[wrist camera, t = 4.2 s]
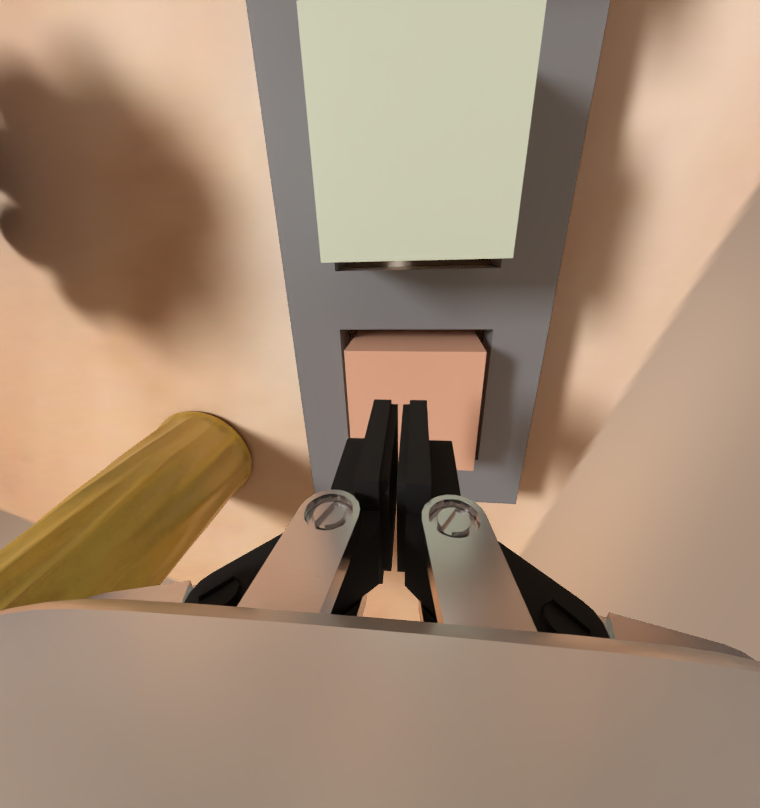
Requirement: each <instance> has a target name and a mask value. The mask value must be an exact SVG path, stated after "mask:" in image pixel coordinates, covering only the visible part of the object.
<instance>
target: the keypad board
mask: <svg viewBox="0 0 760 808" xmlns="http://www.w3.org/2000/svg"><path fill="white" fill-rule="evenodd" d="M296 1H298V0H246V5H247V12H248V19H249V27H250V34H251V41H252V48H253V55H254V62H255V70H256V77H257V84H258V91H259V98H260V105H261V113H262V120H263V127H264V134H265V141H266V149H267V156H268V163H269V170H270V177H271V184H272V192H273V199H274V206H275V213H276V220H277V227H278V235H279V242H280V249H281V256H282V263H283V271H284V278H285V285H286V292H287V299H288V306H289V314H290V321H291V328H292V335H293V342H294V349H295V357H296V364H297V371H298V378H299V385H300V392H301V400H302V407H303V414H304V421H305V428H306V436H307V443H308V450H309V457H310V464H311V471H312V479H313V486H314V493H318V492H321V491H325V490H330V489H331V486H332V483H333V480H334V477H335V474H336V471H337V468H338V465H339V462H340V459H341V456H342V453H343V450H344V447H345V444H346V441H347V439H348V438H350V424H349V411H348V397H347V384H346V371H345V357H344V350H345V349H346V348H347V346H348V345H349V343H350V335H349V330H367V329H484V338H483V347H484V348H485V350H486V352H487V354H486V363H485V371H484V380H483V389H482V398H481V407H480V416H479V425H478V434H477V443H476V452H475V461H474V469H473V471H465V470H457V475H458V481H459V487H460V493H461V496H462V497H465V498H467V499H469V500H471V501H473V502H488V503H506V504H516V500H517V494H518V489H519V484H520V478H521V473H522V468H523V462H524V457H525V452H526V446H527V441H528V436H529V430H530V425H531V420H532V415H533V409H534V404H535V399H536V393H537V388H538V383H539V377H540V372H541V367H542V361H543V356H544V351H545V345H546V340H547V335H548V329H549V324H550V319H551V313H552V308H553V303H554V297H555V292H556V287H557V281H558V276H559V271H560V265H561V260H562V255H563V249H564V244H565V239H566V233H567V228H568V223H569V217H570V212H571V207H572V201H573V196H574V191H575V186H576V180H577V175H578V170H579V164H580V159H581V154H582V148H583V143H584V138H585V132H586V127H587V122H588V116H589V111H590V106H591V100H592V95H593V90H594V84H595V79H596V74H597V68H598V63H599V58H600V52H601V47H602V42H603V36H604V31H605V26H606V20H607V15H608V10H609V4H610V0H547V2H546V10H545V17H544V25H543V32H542V40H541V48H540V55H539V63H538V71H537V78H536V86H535V94H534V101H533V109H532V117H531V124H530V132H529V140H528V147H527V155H526V163H525V170H524V178H523V186H522V193H521V201H520V208H519V216H518V224H517V231H516V239H515V247H514V254H513V258H499V259H492V263H491V265H464V266H419V267H373V268H345V262H332V263H321V258H320V247H319V237H318V226H317V216H316V205H315V194H314V184H313V173H312V162H311V152H310V141H309V131H308V120H307V109H306V99H305V88H304V77H303V67H302V56H301V46H300V35H299V24H298V14H297V3H296Z"/></svg>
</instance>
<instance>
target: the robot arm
mask: <svg viewBox="0 0 760 808" xmlns="http://www.w3.org/2000/svg"><path fill="white" fill-rule="evenodd" d="M396 503H397V568H398V572H405V586H406V587H407V588H408V589H409V590H410V591H411V592H412V593H413V594H414V595H415V597H416V598H417V599H418V600H419V614H420V621H421V622H419V621H407V620H395V619H383V618H371V617H362V616H363V612H364V609H365V605H366V599H367V593H368V592H369V591H371V590H372V589H373V588H374V587H376V586H377V585H378V584H383V574H384V571H391V568H392V556H393V542H394V529H395V516H396ZM0 808H760V661H756V660H754V659H753V658H751V657H750V656H748V655H747V654H745V653H743V652H742V651H739V650H737V649H734V648H732V647H729V646H727V645H725V644H721V643H718V642H714V641H710V640H707V639H703V638H700V637H696V636H692V635H689V634H685V633H682V632H678V631H675V630H671V629H667V628H664V627H660V626H657V625H653V624H649V623H646V622H642V621H639V620H635V619H631V618H627V617H624V616H621V615H617V614H613V613H610V612H609V613H608V616H607V617H603V616H599V615H597V614H596V613H595V612H594V611H593V610H592V609H591V608H590V607H589V606H588V605H586V604H585V603H584V602H583V601H582V600H580V599H579V598H577V597H576V596H575V595H573V594H572V593H571V592H569V591H568V590H566V589H565V588H563V587H562V586H560V585H559V584H558V583H556V582H555V581H553V580H552V579H551V578H549V577H548V576H546V575H545V574H544V573H542V572H541V571H539V570H538V569H536V568H535V567H534V566H532V565H531V564H530V563H528V562H527V561H525V560H524V559H523V558H521V557H520V556H518V555H517V554H515V553H514V552H513V551H511V550H510V549H508V548H507V547H506V546H504V545H503V544H501V543H500V542H498V541H497V539H496V536H495V534H494V532H493V530H492V527H491V525H490V523H489V520H488V518H487V516H486V514H485V513H484V511H483V510H482V508H481V507H480V506H478V505H477V504H476V503H475V502H473V501H471V500H469V499H467V498H465V497H462V496H461V493H460V487H459V481H458V475H457V468H456V462H455V456H454V450H453V444H452V441H442V440H429V429H428V411H427V400H410V404H403V411H402V424H401V436H400V448H399V460H398V404H392V401H391V400H382V399H374V402H373V406H372V410H371V414H370V418H369V422H368V426H367V430H366V434H365V438H348V439H347V441H346V444H345V447H344V450H343V453H342V456H341V459H340V462H339V465H338V468H337V471H336V474H335V477H334V480H333V483H332V486H331V489H330V490H325V491H321V492H318V493H316V494H313V495H312V496H310V497H309V498H307V499H306V500H305V501H304V502H303V503H302V504H301V506H300V507H299V509H298V510H297V512H296V513H295V515H294V517H293V518H292V520H291V521H290V523H289V524H288V526H287V528H286V529H285V531H284V532H283V533H282V534H280V535H279V536H277V537H275V538H273V539H272V540H270V541H268V542H266V543H265V544H263V545H261V546H259V547H257V548H256V549H254V550H252V551H250V552H249V553H247V554H245V555H243V556H241V557H240V558H238V559H236V560H234V561H233V562H231V563H229V564H227V565H225V566H224V567H222V568H220V569H218V570H217V571H215V572H213V573H211V574H210V575H208V576H207V577H205V578H204V579H203V580H201V581H200V582H199V583H198V584H197V585H193V586H192V584H191V581H184V582H177V583H170V584H163V585H156V586H149V587H143V588H136V589H129V590H122V591H115V592H108V593H102V594H99V595H95V596H92V597H89V598H87V599H75V600H62V601H49V602H43V603H37V604H31V605H25V606H19V607H14V608H9V609H5V610H2V611H0Z"/></svg>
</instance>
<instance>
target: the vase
mask: <svg viewBox="0 0 760 808" xmlns="http://www.w3.org/2000/svg"><path fill="white" fill-rule="evenodd" d="M251 468H252V460H251V455H250V452H249V449H248V447H247V445H246V443H245V442H244V440H243V439H242V437H241V436H240V435H239V434H238V433H237V432H236V431H235V430H234V429H233V428H232V427H231V426H230V425H228V424H227V423H226V422H224V421H222V420H221V419H219V418H217V417H214V416H212V415H209V414H206V413H202V412H194V411H188V412H181V413H177V414H174V415H172V416H171V417H169V418H168V419H167V420H165V421H164V422H163V423H162V424H161V425H160V427H159V428H158V429H157V430H155V431H154V432H153V433H151V434H150V435H149V436H147V437H146V438H144V439H143V440H142V441H140V442H139V443H137V444H136V445H135V446H133V447H132V448H131V449H129V450H128V451H127V452H125V453H124V454H123V455H121V456H120V457H119V458H117V459H116V460H115V461H114V462H112V463H111V464H110V465H109V466H108V467H106V468H105V469H104V470H103V471H101V472H100V473H99V474H97V475H96V476H95V477H93V478H92V479H91V480H89V481H88V482H86V483H85V484H84V485H82V486H81V487H80V488H78V489H77V490H76V491H75V492H73V493H72V494H71V495H69V496H68V497H67V498H66V499H64V500H63V501H62V502H61V503H59V504H58V505H57V506H56V507H54V508H53V509H52V510H51V511H49V512H48V513H47V514H46V515H44V516H43V517H42V518H41V519H40V520H39V521H38V522H36V523H35V524H34V525H33V526H32V527H31V528H29V529H28V530H27V531H25V532H24V533H23V534H21V535H20V536H19V537H17V538H16V539H15V540H13V541H12V542H11V543H9V544H8V545H7V546H6V547H4V548H3V549H1V550H0V611H2V610H5V609H9V608H14V607H19V606H25V605H31V604H37V603H43V602H49V601H62V600H75V599H87V598H89V597H92V596H95V595H99V594H102V593H108V592H115V591H122V590H129V589H136V588H143V587H149V586H156V585H160V584H161V583H162V582H163V580H164V579H165V578H166V577H167V575H168V574H169V573H170V572H171V570H172V569H173V568H174V567H175V566H176V564H177V563H178V562H179V561H180V559H181V558H182V557H183V555H184V554H185V553H186V552H187V550H188V549H189V548H190V547H191V545H192V544H193V543H194V542H195V541H196V539H197V538H198V537H199V536H200V535H201V534H202V532H203V531H204V530H205V529H206V528H207V526H208V525H209V524H210V523H211V521H212V520H213V519H214V518H215V517H216V515H217V514H218V513H219V511H220V510H221V509H222V508H223V506H224V505H225V504H226V503H227V501H228V500H229V499H230V498H231V497H232V495H233V494H234V493H235V492H237V491H238V490H239V489H240V488H241V487H242V486H243V485H244V484H245V482H246V481H247V480H248V478H249V476H250V473H251Z"/></svg>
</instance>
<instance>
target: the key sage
mask: <svg viewBox="0 0 760 808" xmlns="http://www.w3.org/2000/svg"><path fill="white" fill-rule="evenodd" d="M546 2H547V0H298V1H296V3H297V14H298V24H299V35H300V46H301V56H302V67H303V77H304V88H305V99H306V109H307V120H308V131H309V141H310V152H311V162H312V173H313V184H314V194H315V205H316V216H317V226H318V237H319V247H320V258H321V263H332V262H374V261H416V260H457V259H499V258H513V254H514V247H515V239H516V231H517V224H518V216H519V208H520V201H521V193H522V186H523V178H524V170H525V163H526V155H527V147H528V140H529V132H530V124H531V117H532V109H533V101H534V94H535V86H536V78H537V71H538V63H539V55H540V48H541V40H542V32H543V25H544V17H545V10H546Z"/></svg>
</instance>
